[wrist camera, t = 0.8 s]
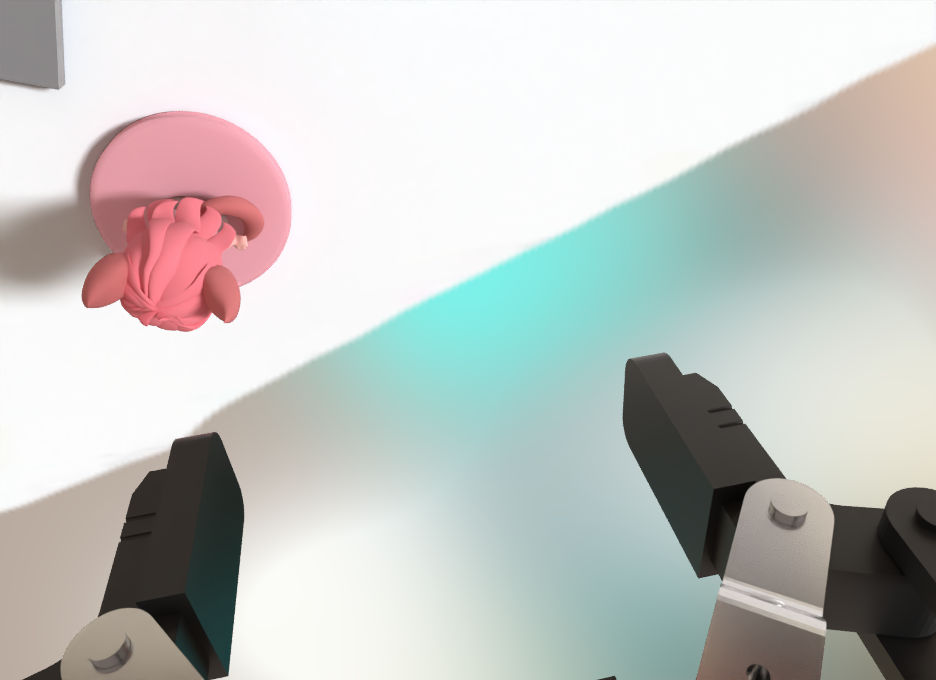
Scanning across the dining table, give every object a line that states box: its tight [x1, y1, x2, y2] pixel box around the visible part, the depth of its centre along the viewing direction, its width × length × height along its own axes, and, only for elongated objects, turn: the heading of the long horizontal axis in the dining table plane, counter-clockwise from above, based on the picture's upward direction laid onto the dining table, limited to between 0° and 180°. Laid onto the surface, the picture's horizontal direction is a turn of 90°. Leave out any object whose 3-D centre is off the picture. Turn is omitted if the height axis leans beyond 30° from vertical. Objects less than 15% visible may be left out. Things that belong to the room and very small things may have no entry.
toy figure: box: [82, 111, 291, 332], centre depth 33 cm, size 10×10×12 cm
